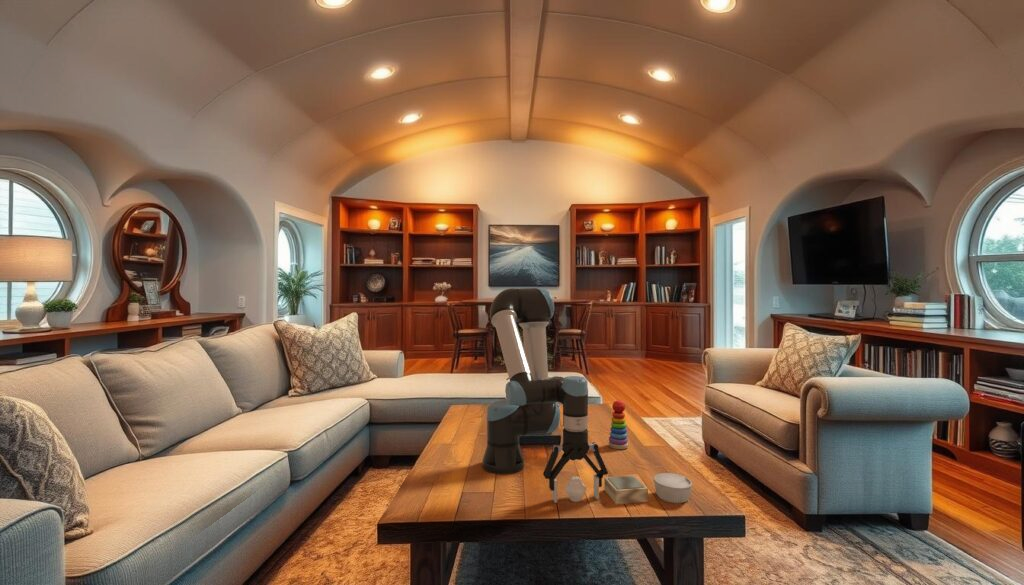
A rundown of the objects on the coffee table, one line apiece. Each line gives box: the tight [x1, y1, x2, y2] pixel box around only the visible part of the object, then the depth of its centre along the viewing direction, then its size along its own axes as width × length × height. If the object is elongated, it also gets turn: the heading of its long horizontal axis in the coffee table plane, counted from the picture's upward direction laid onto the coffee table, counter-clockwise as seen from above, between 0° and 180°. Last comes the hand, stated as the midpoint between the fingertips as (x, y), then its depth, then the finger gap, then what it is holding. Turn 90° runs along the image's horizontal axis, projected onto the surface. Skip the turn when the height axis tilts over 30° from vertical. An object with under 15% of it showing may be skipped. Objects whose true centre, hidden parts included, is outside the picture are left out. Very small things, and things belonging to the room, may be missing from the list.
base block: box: [603, 474, 649, 505], centre depth 143 cm, size 10×10×4 cm
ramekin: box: [653, 472, 693, 504], centre depth 143 cm, size 11×11×5 cm
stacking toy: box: [608, 399, 629, 450], centre depth 188 cm, size 8×8×19 cm
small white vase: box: [565, 476, 587, 503], centre depth 141 cm, size 6×6×7 cm
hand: (575, 499), depth 141 cm, fingers open, 12 cm apart
